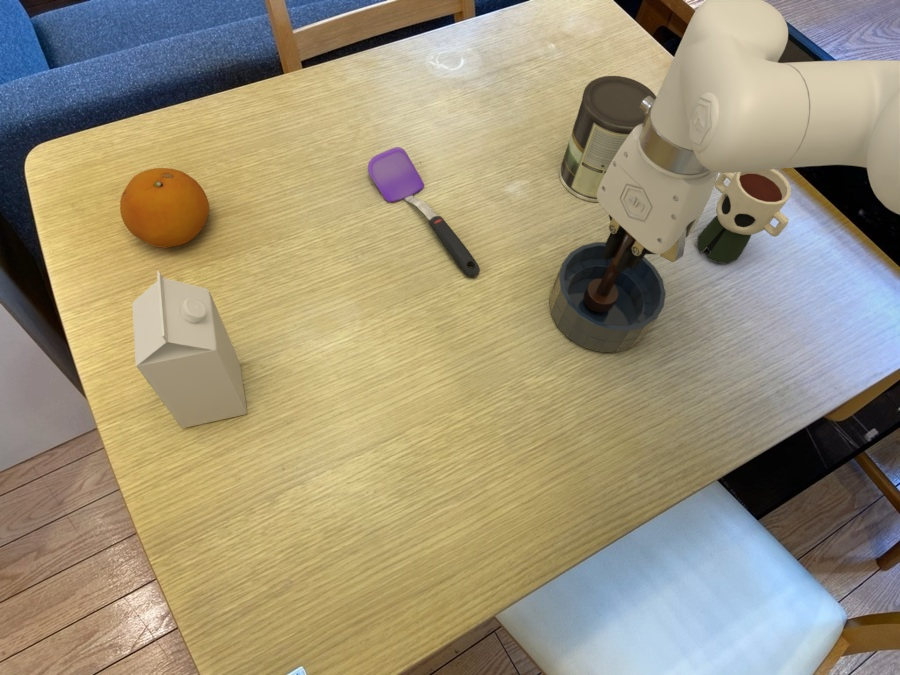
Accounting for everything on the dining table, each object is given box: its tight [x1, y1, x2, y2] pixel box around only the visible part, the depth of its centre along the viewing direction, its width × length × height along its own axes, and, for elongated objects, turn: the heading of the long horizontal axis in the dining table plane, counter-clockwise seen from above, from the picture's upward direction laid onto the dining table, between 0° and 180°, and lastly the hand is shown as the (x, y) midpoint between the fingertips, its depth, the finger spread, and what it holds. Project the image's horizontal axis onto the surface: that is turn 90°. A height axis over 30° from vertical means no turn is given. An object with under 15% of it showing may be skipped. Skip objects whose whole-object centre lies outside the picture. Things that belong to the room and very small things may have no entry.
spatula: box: [367, 146, 481, 278], centre depth 87 cm, size 24×7×2 cm, turn 34°
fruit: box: [119, 167, 210, 248], centre depth 80 cm, size 10×10×8 cm
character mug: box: [696, 169, 792, 264], centre depth 84 cm, size 11×7×13 cm, turn 36°
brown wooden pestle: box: [584, 231, 636, 313], centre depth 75 cm, size 4×4×14 cm
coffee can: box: [558, 75, 657, 203], centre depth 89 cm, size 10×10×14 cm
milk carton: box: [131, 270, 248, 429], centre depth 64 cm, size 7×7×19 cm
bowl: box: [549, 241, 667, 353], centre depth 80 cm, size 13×13×6 cm
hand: (619, 259), depth 74 cm, fingers closed on brown wooden pestle, 1 cm apart
